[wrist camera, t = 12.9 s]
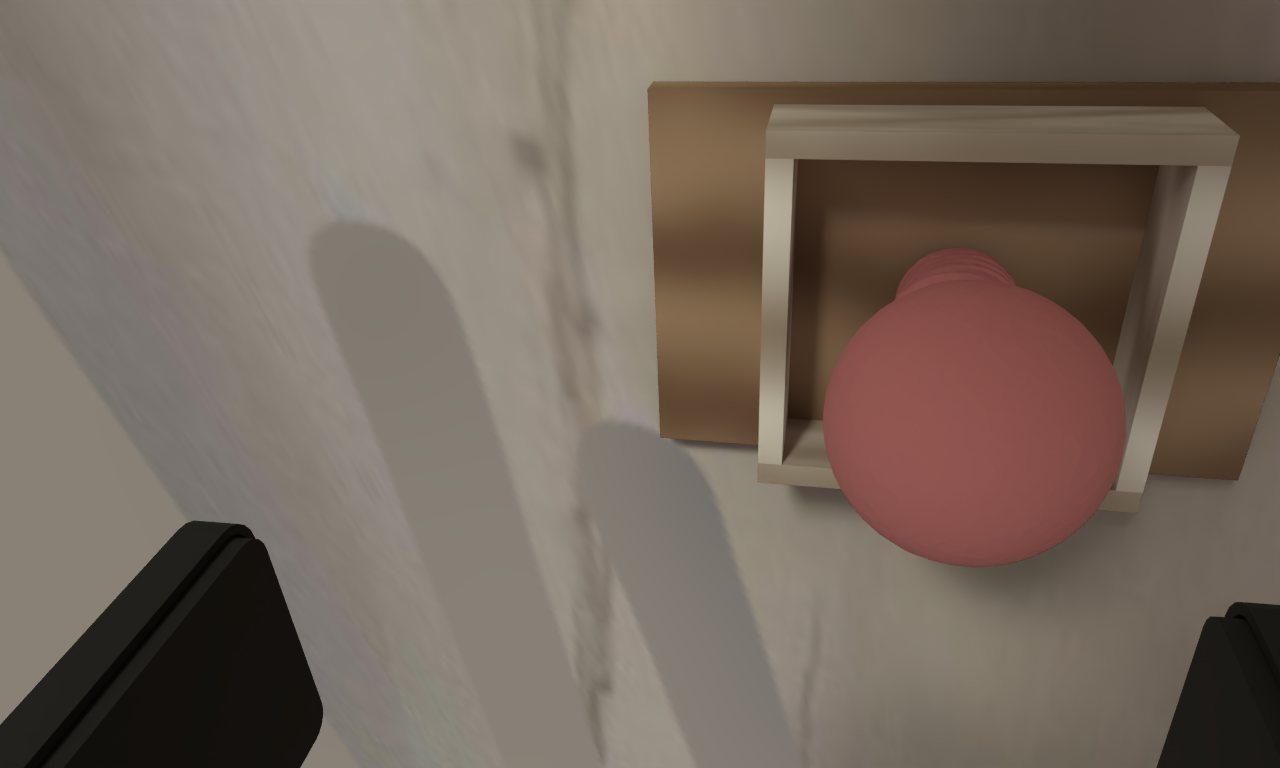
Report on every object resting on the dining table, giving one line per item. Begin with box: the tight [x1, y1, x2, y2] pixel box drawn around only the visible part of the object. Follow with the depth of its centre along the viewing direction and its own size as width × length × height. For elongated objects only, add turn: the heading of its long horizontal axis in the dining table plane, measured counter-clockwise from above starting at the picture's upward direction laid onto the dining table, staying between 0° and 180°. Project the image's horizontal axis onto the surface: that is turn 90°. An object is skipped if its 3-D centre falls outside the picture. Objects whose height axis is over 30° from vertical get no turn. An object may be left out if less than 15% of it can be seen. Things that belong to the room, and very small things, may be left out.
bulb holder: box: [648, 82, 1280, 513], centre depth 30 cm, size 13×20×4 cm, turn 93°
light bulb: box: [823, 248, 1126, 567], centre depth 26 cm, size 7×7×12 cm
